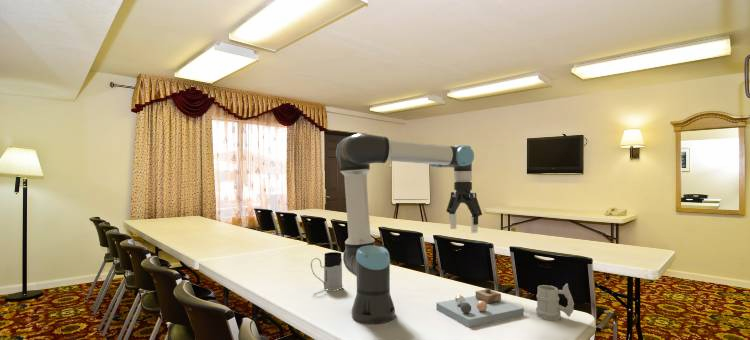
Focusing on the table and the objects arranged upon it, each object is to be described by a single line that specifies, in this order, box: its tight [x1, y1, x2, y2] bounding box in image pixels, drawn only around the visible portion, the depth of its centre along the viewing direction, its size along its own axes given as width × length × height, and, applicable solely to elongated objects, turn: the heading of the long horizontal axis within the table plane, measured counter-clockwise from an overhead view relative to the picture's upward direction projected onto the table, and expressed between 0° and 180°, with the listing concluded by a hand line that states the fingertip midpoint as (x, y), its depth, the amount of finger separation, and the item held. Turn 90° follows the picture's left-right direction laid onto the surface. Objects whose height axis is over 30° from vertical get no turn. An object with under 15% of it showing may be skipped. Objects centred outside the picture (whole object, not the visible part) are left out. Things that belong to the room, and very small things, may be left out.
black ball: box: [461, 302, 471, 314], centre depth 123 cm, size 4×4×4 cm
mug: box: [535, 283, 575, 321], centre depth 125 cm, size 8×12×12 cm, turn 60°
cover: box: [475, 288, 502, 303], centre depth 136 cm, size 6×6×4 cm
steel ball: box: [454, 294, 465, 306], centre depth 130 cm, size 4×4×4 cm
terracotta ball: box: [477, 301, 487, 312], centre depth 124 cm, size 4×4×4 cm
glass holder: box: [310, 251, 344, 291], centre depth 160 cm, size 9×14×15 cm, turn 112°
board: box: [435, 295, 525, 329], centre depth 130 cm, size 24×18×2 cm
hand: (463, 230), depth 157 cm, fingers open, 13 cm apart
